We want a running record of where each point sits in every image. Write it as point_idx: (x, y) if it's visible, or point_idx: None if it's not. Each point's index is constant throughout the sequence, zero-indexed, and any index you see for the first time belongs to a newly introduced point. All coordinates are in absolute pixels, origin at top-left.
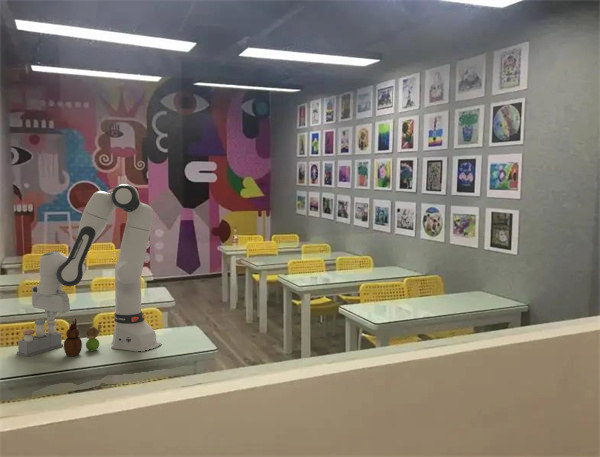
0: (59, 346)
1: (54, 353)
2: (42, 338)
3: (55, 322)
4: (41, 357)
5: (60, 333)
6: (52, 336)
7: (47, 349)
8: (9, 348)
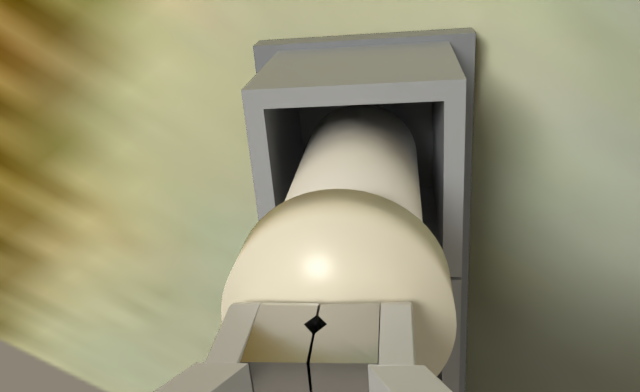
0: (470, 86)
1: (604, 246)
2: (458, 381)
3: (450, 279)
4: (586, 375)
5: (464, 94)
6: (459, 234)
7: (468, 248)
8: (81, 353)
